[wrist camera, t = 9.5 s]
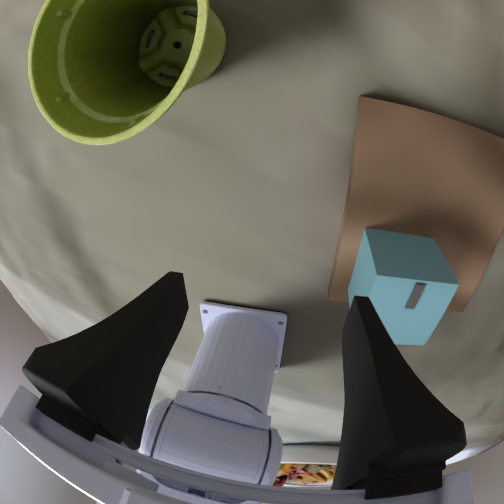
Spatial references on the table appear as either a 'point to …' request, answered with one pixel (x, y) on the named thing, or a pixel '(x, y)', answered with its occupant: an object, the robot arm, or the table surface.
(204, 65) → the plant pot
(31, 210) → the table surface
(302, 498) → the robot arm
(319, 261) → the table surface
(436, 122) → the panel
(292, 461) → the bowl
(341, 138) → the table surface
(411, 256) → the blue cube with slot
